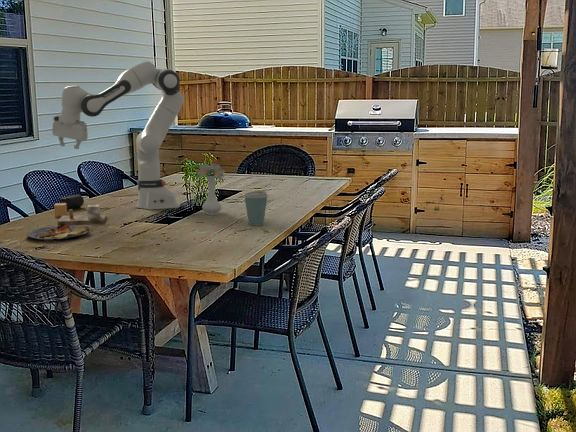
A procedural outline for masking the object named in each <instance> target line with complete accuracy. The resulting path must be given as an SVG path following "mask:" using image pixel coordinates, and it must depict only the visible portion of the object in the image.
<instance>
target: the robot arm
mask: <svg viewBox="0 0 576 432" xmlns="http://www.w3.org/2000/svg"><path fill="white" fill-rule="evenodd" d="M150 84H152V85H153V86H154V87H155V88H156V89H158V90H160V91H161V93H162V95H161V97H160V98H161V99H160V100H159V102H158V103H157V104H156V106H155V108H154V110H153V112H152V114H151V115H150V117H149V118H148V121H147V123H146V125H145V127H144V129H143V131H141V132H140V133H139V134H137V136H136V139H135V142H136V154H137V171H138V172H137V173H138V180H137V190H138V196H137V202H136V203H137V204H136V208H138V209H143V210H145V209H146V210H162V209H177V208H180V207H181V203H180V202H178V201H177V199H176V195H175V194H174V192H173V191H171V190H170V189H168V188H167V187H166V181H165V180H163V179H161V165H160V164H161V163H160V153H159V150H160V148H161V145H162V144H163V142H164V140H165V138H166V136H167V134H168V131H170V130H169V129H170V128H171V126H172V124H174V121H175V119H176V117H177V116H178V114H179V113H180V111H181V108H182V107H183V104H184V100H185V99H184V98H185V97H184V95H183V94H182V93H181V92H180V77H179V75H178V73H177V72H176V71H174V70H172V69H167V68H163V69H162V68H161V69H160V68H157V67H156V65H155V64H154V63H153V62H151V61H142V62H140V63H138V64H135V65H134V66H133V65H132V67H129V68H128V69H125V71H123V72H122V73H121V74H120V75H119V76H118V77H117V80H116V82H115V83H113V85H112V86H110V87H108V88H107V89H105V90H103V91H102V92H100V93H98V94H92V93H90V92H88V91H87V90H85V89H83V88H81V86H79V85H68V86H66V87H64V88H63V89H62V92H61V112H60V114H58V115H54V116H53V117H52V120H53V123H52V128H51V129H52V135H53V136H54V137H58V138H57V139H58V140H59V141H58V142H59V146H60V147H65V146H66V143H65V142H64V139H70V140H75V142H76V143H75V144H74V146H73V147H74V148H73V149H75V150H79V149H80V145H81V143H82V141H84V142H85V141H87V140H88V139H89V138H88V135H89V134H88V126H87V123H86V122H85V121H81V113H83V114H84V115H85V116H87V117H91V118H92V117H97V116H99V115H101V113H102V112H103V110H104V109H105V108H106V107H107V106H108V105H110V104H111V103H113V102H115V101H116V100H118V99H119V98H121V97H123V96H126V95H128V94H131V93H135V92H137V91H138V90H141V89H142V88H144V87H146V86H148V85H150Z"/></svg>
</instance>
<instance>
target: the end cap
mask: <svg viewBox="0 0 576 432" xmlns="http://www.w3.org/2000/svg"><path fill="white" fill-rule="evenodd" d="M59 199H60V200H59V201H60V203H67V211H69V210H70V209H73V210H74V209H79V208H81V207H82V206H83V205H84V203H85V199H84V197H83V196H82V195H81V194H76V195H68V196H62V197H60V198H59Z"/></svg>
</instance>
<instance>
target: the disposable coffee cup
mask: <svg viewBox="0 0 576 432" xmlns="http://www.w3.org/2000/svg"><path fill="white" fill-rule="evenodd" d="M243 198H244V203H245V209H246V214H247V215H246V216H247V219H248V225H249V226H253V227H256V226H263V225H264V223H265V216H266V208H267V199H268V194H267V191H264V190H255V191H248V192H246V193H244V195H243Z"/></svg>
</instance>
